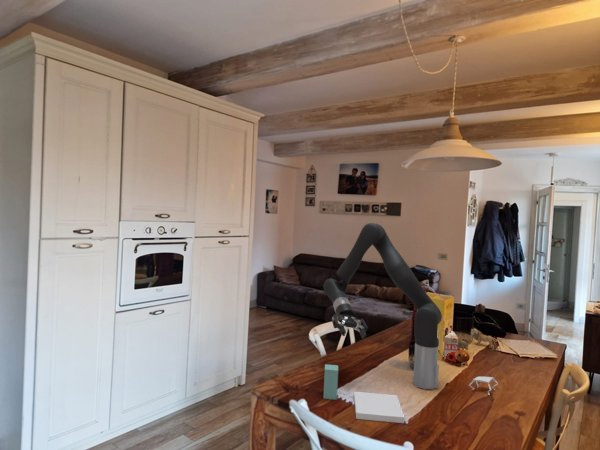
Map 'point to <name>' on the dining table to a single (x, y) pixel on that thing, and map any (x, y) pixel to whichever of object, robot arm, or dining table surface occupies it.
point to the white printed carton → (450, 344)
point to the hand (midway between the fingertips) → (354, 335)
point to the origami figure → (484, 379)
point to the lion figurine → (482, 338)
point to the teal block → (330, 382)
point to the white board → (378, 407)
